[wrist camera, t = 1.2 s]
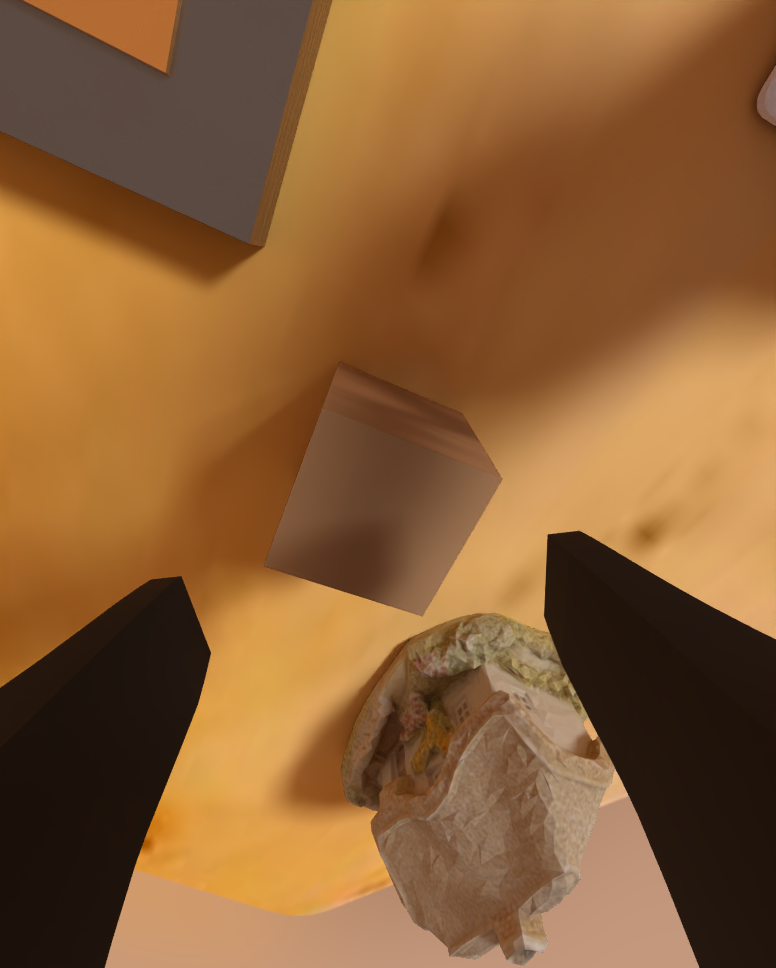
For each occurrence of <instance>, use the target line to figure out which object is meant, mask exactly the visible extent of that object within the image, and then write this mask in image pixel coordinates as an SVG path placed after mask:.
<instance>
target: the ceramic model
mask: <svg viewBox="0 0 776 968" xmlns="http://www.w3.org/2000/svg"><path fill="white" fill-rule="evenodd" d="M587 718H588V715H587V713H586V711H585V709H584V707H583V705H582V703H581V701H580V699H579V697H578V695H577V693H576V692H575V690H574V688H573V686H572V684H571V682H570V680H569V678H568V676H567V674H566V672H565V670H564V668H563V666H562V664H561V661H560V658H559V656H558V653H557V651H556V648H555V645H554V643H553V640H552V637H551V634H549V633H547V632H543V631H540V630H537V629H535V628H531V627H530V626H527V625H525V624H523V623H521V622H518V621H516V620H514V619H512V618H509V617H506V616H503V615H500V614H497V613H484V614H475V615H468V616H463V617H459V618H456V619H453V620H451V621H448V622H445V623H443V624H441V625H438V626H436V627H434V628H431V629H429V630H427V631H425V632H423V633H421V634H418V635H416V636H415V637H413V638H412V639H411V640H410V641H409V642H408V643H407V644H406V645H405V646H404V647H403V648H402V650H401V651H400V653H399V654H398V655H397V657H396V658H395V659H394V661H393V662H392V664H391V665H390V666H389V668H388V669H387V670H386V672H385V673H384V674H383V676H382V677H381V678H380V680H379V681H378V683H377V684H376V686H375V687H374V689H373V690H372V692H371V693H370V695H369V697H368V698H367V700H366V702H365V704H364V706H363V708H362V710H361V712H360V714H359V716H358V718H357V720H356V722H355V724H354V727H353V731H352V733H351V736H350V739H349V743H348V746H347V748H346V750H345V753H344V759H343V762H342V767H341V773H342V776H343V786H344V793H345V796H346V799H347V800H348V801H349V802H351V803H352V804H354V805H356V806H359V807H362V806H365V807H367V808H369V809H371V810H373V811H378V813H377V814H376V815H375V816H374V818H373V819H372V821H371V830H372V834H373V836H374V839H375V842H376V844H377V847H378V850H379V852H380V856H381V858H382V859H383V861H384V863H385V866H386V868H387V870H388V873H389V875H390V877H391V879H392V882H393V884H394V886H395V888H396V891H397V893H398V895H399V897H400V900H401V902H402V904H403V905H404V907H405V908H406V909H407V911H408V913H409V915H410V916H411V918H412V920H413V922H414V923H415V924H417V925H418V926H420V927H421V928H422V929H424V930H429V931H431V932H432V933H433V934H434V935H435V936H436V937H437V938H438V939H439V940H440V941H441V942H443V943H444V944H445V945H446V946H447V947H448V951H449V956H456V957H462V958H468V959H471V958H472V959H477V958H479V957H481V956H482V955H484V954H486V953H487V952H489V951H490V950H492V949H493V948H495V947H496V946H498V945H500V946H501V948H502V951H503V953H504V955H505V957H506V959H507V961H509V962H511V963H514V964H518V965H522V966H524V965H525V964H526V963H527V962H528V961H529V960H530V959H531V958H532V957H533V955H534V954H535V952H536V951H537V952H541V953H543V952H544V950H545V948H546V946H547V944H548V940H547V937H546V934H545V931H544V927H543V922H542V917H541V913H543V912H547V911H548V910H550V909H552V908H553V907H554V906H556V905H557V904H559V903H560V902H561V901H562V900H563V898H564V897H565V896H566V895H568V894H570V893H571V892H572V890H573V889H574V888H575V886H576V885H577V884H578V882H579V881H580V872H579V869H580V865H581V861H582V857H583V853H584V849H585V847H586V845H587V843H588V840H589V838H590V835H591V832H592V829H593V826H594V823H595V819H596V816H597V813H598V809H599V806H600V803H601V801H602V798H603V795H604V793H605V790H606V788H607V787H609V786H610V785H611V784H612V779H613V774H614V770H615V767H614V765H613V763H612V761H611V759H610V757H609V755H608V753H607V752H606V750H605V748H604V746H603V744H602V742H601V740H600V738H599V737H597V738H596V739H595V740H593V741H592V739H591V737H590V735H589V734H588V732H587V731H586V729H585V728H584V725H583V722H584V721H585V720H586V719H587Z"/></svg>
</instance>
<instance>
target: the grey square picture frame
mask: <svg viewBox="0 0 776 968" xmlns="http://www.w3.org/2000/svg"><path fill="white" fill-rule="evenodd" d="M331 3H332V0H0V131H1V132H3V133H5V134H8V135H10V136H12V137H14V138H16V139H19V140H21V141H23V142H25V143H27V144H30V145H32V146H34V147H36V148H39V149H41V150H43V151H45V152H47V153H50V154H52V155H54V156H56V157H58V158H61V159H63V160H65V161H67V162H69V163H72V164H74V165H76V166H78V167H80V168H83V169H85V170H87V171H89V172H91V173H94V174H96V175H98V176H100V177H102V178H105V179H107V180H109V181H111V182H113V183H116V184H118V185H120V186H122V187H124V188H127V189H129V190H131V191H133V192H136V193H138V194H140V195H142V196H144V197H147V198H149V199H151V200H153V201H155V202H158V203H160V204H162V205H164V206H166V207H169V208H171V209H173V210H175V211H177V212H180V213H182V214H184V215H186V216H188V217H191V218H193V219H195V220H197V221H199V222H202V223H204V224H206V225H208V226H210V227H213V228H215V229H217V230H219V231H222V232H224V233H226V234H228V235H230V236H233V237H235V238H237V239H239V240H241V241H244V242H246V243H248V244H252V245H257V246H263V247H264V246H265V242H266V239H267V235H268V231H269V228H270V224H271V220H272V217H273V213H274V209H275V206H276V202H277V199H278V195H279V191H280V188H281V184H282V180H283V177H284V173H285V170H286V166H287V162H288V159H289V155H290V151H291V148H292V144H293V141H294V137H295V133H296V130H297V126H298V122H299V119H300V115H301V112H302V108H303V104H304V101H305V97H306V93H307V90H308V86H309V83H310V79H311V75H312V72H313V68H314V64H315V61H316V57H317V54H318V50H319V46H320V43H321V39H322V35H323V32H324V28H325V24H326V21H327V17H328V14H329V10H330V6H331Z"/></svg>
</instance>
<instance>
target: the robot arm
mask: <svg viewBox="0 0 776 968" xmlns="http://www.w3.org/2000/svg"><path fill="white" fill-rule="evenodd" d="M757 110H758V113H759V114H760V116H761V117H762V118H764V119H765V120H767V121H768V122H770V123H771V124H773V125H774V126H776V66H775V67H774V69H773V70H772V72H771V74H770V75H769V77H768V79H767V80H766V82H765V84H764V85H763V87H762V89H761V91H760V93H759V95H758V98H757ZM544 617H545V620H546V623H547V626H548V629H549V632H550V634H551V637H552V640H553V643H554V645H555V648H556V651H557V653H558V656H559V658H560V661H561V664H562V666H563V668H564V670H565V672H566V674H567V676H568V678H569V680H570V682H571V684H572V686H573V688H574V690H575V692H576V693H577V695H578V697H579V699H580V701H581V703H582V705H583V707H584V709H585V711H586V713H587V715H588V717H589V719H590V721H591V723H592V725H593V726H594V728H595V730H596V732H597V734H598V736H599V738H600V740H601V742H602V744H603V746H604V748H605V750H606V752H607V753H608V755H609V757H610V759H611V761H612V763H613V765H614V767H615V769H616V771H617V773H618V775H619V777H620V779H621V781H622V782H623V785H624V787H625V789H626V791H627V793H628V795H629V797H630V799H631V801H632V804H633V806H634V808H635V810H636V812H637V814H638V816H639V819H640V821H641V824H642V826H643V829H644V831H645V833H646V836H647V838H648V841H649V843H650V846H651V848H652V850H653V852H654V855H655V858H656V860H657V862H658V865H659V867H660V870H661V872H662V875H663V877H664V879H665V882H666V884H667V887H668V889H669V892H670V894H671V897H672V899H673V902H674V904H675V907H676V909H677V912H678V914H679V917H680V919H681V922H682V925H683V927H684V929H685V932H686V935H687V937H688V940H689V942H690V945H691V947H692V950H693V952H694V955H695V958H696V960H697V962H698V965H699V968H776V639H774V638H772V637H770V636H768V635H766V634H764V633H762V632H760V631H758V630H755V629H754V628H752V627H750V626H748V625H746V624H744V623H742V622H740V621H738V620H736V619H734V618H732V617H730V616H728V615H727V614H725V613H723V612H721V611H719V610H717V609H715V608H713V607H711V606H709V605H707V604H706V603H704V602H702V601H700V600H698V599H697V598H695V597H693V596H691V595H689V594H687V593H686V592H684V591H682V590H680V589H679V588H677V587H675V586H673V585H672V584H670V583H668V582H666V581H665V580H663V579H661V578H659V577H658V576H656V575H654V574H653V573H651V572H649V571H648V570H646V569H644V568H642V567H641V566H639V565H637V564H636V563H634V562H632V561H631V560H629V559H627V558H626V557H624V556H622V555H621V554H619V553H617V552H616V551H614V550H612V549H611V548H609V547H607V546H606V545H604V544H602V543H601V542H599V541H597V540H595V539H594V538H592V537H590V536H588V535H586V534H585V533H583V532H581V531H574V532H565V533H556V534H548V539H547V562H546V585H545V608H544ZM210 655H211V652H210V649H209V647H208V644H207V641H206V639H205V636H204V634H203V631H202V628H201V626H200V623H199V621H198V618H197V616H196V613H195V610H194V608H193V605H192V603H191V600H190V597H189V595H188V592H187V590H186V587H185V584H184V582H183V579H182V577H181V576H179V577H170V578H162V579H153V580H150V581H148V582H147V583H145V584H143V585H142V586H140V587H139V588H137V589H136V590H134V591H133V592H131V593H130V594H129V595H127V596H126V597H124V598H123V599H122V600H120V601H119V602H117V603H116V604H115V605H113V606H112V607H111V608H109V609H108V610H107V611H105V612H104V613H102V614H101V615H100V616H98V617H97V618H96V619H94V620H93V621H92V622H90V623H89V624H88V625H86V626H85V627H84V628H82V629H81V630H80V631H78V632H77V633H76V634H74V635H73V636H72V637H70V638H69V639H68V640H66V641H65V642H64V643H62V644H61V645H60V646H58V647H57V648H55V649H54V650H53V651H51V652H50V653H49V654H47V655H46V656H45V657H43V658H42V659H41V660H39V661H38V662H36V663H35V664H34V665H32V666H31V667H29V668H28V669H26V670H25V671H24V672H22V673H21V674H19V675H18V676H17V677H15V678H14V679H12V680H11V681H9V682H8V683H7V684H5V685H4V686H2V687H1V688H0V968H105V964H106V960H107V957H108V954H109V950H110V947H111V943H112V940H113V936H114V933H115V930H116V926H117V923H118V920H119V916H120V913H121V910H122V907H123V903H124V900H125V897H126V894H127V890H128V887H129V883H130V881H131V877H132V874H133V871H134V867H135V864H136V861H137V859H138V856H139V853H140V850H141V848H142V845H143V842H144V839H145V837H146V834H147V831H148V829H149V826H150V824H151V821H152V819H153V816H154V814H155V811H156V809H157V806H158V804H159V801H160V799H161V796H162V794H163V791H164V789H165V786H166V784H167V781H168V779H169V776H170V774H171V771H172V769H173V766H174V764H175V761H176V759H177V756H178V754H179V751H180V749H181V746H182V744H183V741H184V739H185V736H186V734H187V731H188V729H189V726H190V723H191V721H192V718H193V716H194V713H195V710H196V708H197V705H198V702H199V699H200V695H201V691H202V688H203V684H204V680H205V676H206V672H207V668H208V663H209V659H210Z"/></svg>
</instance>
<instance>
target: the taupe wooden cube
mask: <svg viewBox="0 0 776 968" xmlns="http://www.w3.org/2000/svg"><path fill="white" fill-rule="evenodd" d="M501 481H502V477H501V476H500V474H499V472H498V471H497V469H496V468H495V466H494V464H493V463H492V461H491V459H490V458H489V456H488V454H487V453H486V451H485V450H484V448H483V446H482V445H481V443H480V441H479V440H478V438H477V437H476V435H475V433H474V432H473V430H472V428H471V427H470V425H469V423H468V422H467V420H466V419H465V417H464V415H463V414H462V413H460V412H458V411H455V410H453V409H451V408H448V407H446V406H443V405H441V404H439V403H436V402H434V401H431V400H429V399H427V398H424V397H422V396H419V395H417V394H415V393H412V392H410V391H408V390H405V389H403V388H400V387H398V386H396V385H393V384H391V383H388V382H386V381H384V380H381V379H379V378H376V377H374V376H372V375H369V374H367V373H365V372H362V371H360V370H357V369H355V368H353V367H350V366H348V365H345V364H343V363H341V362H339V364H338V366H337V369H336V372H335V374H334V377H333V380H332V382H331V385H330V388H329V391H328V393H327V396H326V399H325V401H324V404H323V407H322V409H321V412H320V415H319V417H318V420H317V423H316V425H315V428H314V431H313V433H312V436H311V439H310V441H309V444H308V447H307V450H306V452H305V455H304V458H303V460H302V463H301V466H300V468H299V471H298V474H297V476H296V479H295V482H294V484H293V487H292V490H291V493H290V495H289V498H288V501H287V504H286V506H285V509H284V512H283V514H282V517H281V520H280V523H279V525H278V528H277V531H276V533H275V536H274V539H273V542H272V544H271V547H270V550H269V552H268V555H267V558H266V561H265V563H264V567H267V568H271V569H274V570H277V571H280V572H283V573H286V574H290V575H293V576H296V577H299V578H302V579H306V580H309V581H312V582H315V583H318V584H321V585H325V586H328V587H331V588H334V589H337V590H340V591H344V592H347V593H350V594H353V595H356V596H359V597H363V598H366V599H369V600H372V601H375V602H378V603H382V604H385V605H388V606H391V607H394V608H397V609H401V610H404V611H407V612H410V613H413V614H416V615H420V616H423V615H424V613H425V611H426V610H427V608H428V606H429V605H430V603H431V601H432V599H433V598H434V596H435V594H436V592H437V591H438V589H439V587H440V586H441V584H442V582H443V580H444V579H445V577H446V575H447V574H448V572H449V570H450V568H451V567H452V565H453V563H454V562H455V560H456V558H457V556H458V555H459V553H460V551H461V550H462V548H463V546H464V544H465V543H466V541H467V539H468V538H469V536H470V534H471V532H472V531H473V529H474V527H475V526H476V524H477V522H478V520H479V519H480V517H481V515H482V514H483V512H484V510H485V508H486V507H487V505H488V503H489V502H490V500H491V498H492V496H493V495H494V493H495V491H496V489H497V488H498V486H499V484H500V483H501Z"/></svg>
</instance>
